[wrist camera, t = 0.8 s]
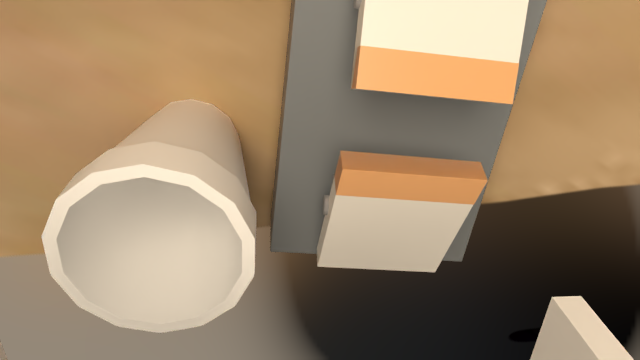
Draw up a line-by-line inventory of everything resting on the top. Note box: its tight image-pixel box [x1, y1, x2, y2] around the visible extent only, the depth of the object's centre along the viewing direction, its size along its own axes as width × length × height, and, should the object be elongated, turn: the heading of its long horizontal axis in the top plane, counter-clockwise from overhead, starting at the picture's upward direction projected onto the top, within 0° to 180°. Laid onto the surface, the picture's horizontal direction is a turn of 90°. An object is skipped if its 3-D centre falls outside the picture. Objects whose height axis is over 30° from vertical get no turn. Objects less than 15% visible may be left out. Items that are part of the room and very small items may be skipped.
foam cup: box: [42, 99, 256, 333], centre depth 28 cm, size 10×9×13 cm
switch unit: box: [270, 0, 547, 261], centre depth 30 cm, size 14×23×6 cm, turn 173°
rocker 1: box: [351, 0, 529, 104], centre depth 24 cm, size 8×9×2 cm
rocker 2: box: [317, 151, 488, 272], centre depth 29 cm, size 8×9×2 cm
